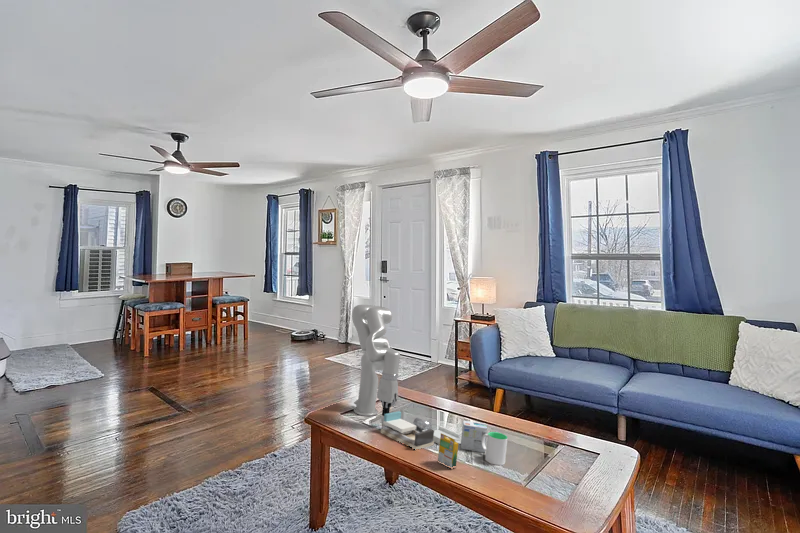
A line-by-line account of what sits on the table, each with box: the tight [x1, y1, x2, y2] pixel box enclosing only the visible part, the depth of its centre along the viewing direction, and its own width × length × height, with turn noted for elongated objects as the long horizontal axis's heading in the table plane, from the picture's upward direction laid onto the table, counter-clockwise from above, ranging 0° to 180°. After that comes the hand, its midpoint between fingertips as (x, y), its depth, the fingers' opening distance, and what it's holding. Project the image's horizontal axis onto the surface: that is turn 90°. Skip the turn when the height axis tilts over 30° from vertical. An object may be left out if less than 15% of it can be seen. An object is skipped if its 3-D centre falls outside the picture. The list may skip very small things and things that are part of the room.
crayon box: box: [437, 433, 459, 467], centre depth 156 cm, size 7×3×12 cm, turn 43°
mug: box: [482, 431, 508, 466], centre depth 167 cm, size 12×8×10 cm
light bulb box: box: [460, 419, 488, 453], centre depth 177 cm, size 11×7×11 cm, turn 84°
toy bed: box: [383, 410, 417, 435], centre depth 182 cm, size 12×10×6 cm
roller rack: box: [421, 425, 461, 445], centre depth 184 cm, size 12×14×2 cm
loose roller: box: [412, 417, 432, 431], centre depth 193 cm, size 8×4×4 cm, turn 45°
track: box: [380, 424, 435, 451], centre depth 178 cm, size 22×12×6 cm, turn 45°
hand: (385, 415), depth 189 cm, fingers closed
